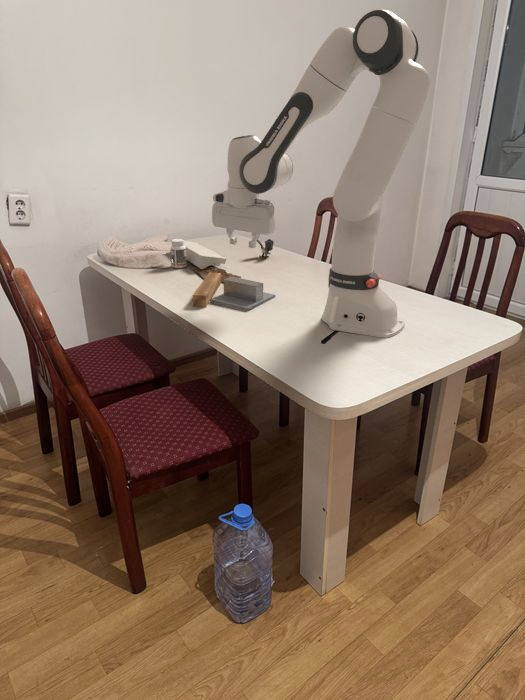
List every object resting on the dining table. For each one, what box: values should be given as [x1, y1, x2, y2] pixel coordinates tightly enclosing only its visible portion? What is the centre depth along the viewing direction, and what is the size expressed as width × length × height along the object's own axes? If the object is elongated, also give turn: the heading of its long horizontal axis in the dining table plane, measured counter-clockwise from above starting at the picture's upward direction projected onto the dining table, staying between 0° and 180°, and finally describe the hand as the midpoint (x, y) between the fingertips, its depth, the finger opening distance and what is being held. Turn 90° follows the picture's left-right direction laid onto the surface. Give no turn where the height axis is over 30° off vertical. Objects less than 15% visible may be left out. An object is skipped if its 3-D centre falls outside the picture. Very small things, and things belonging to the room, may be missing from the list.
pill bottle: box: [170, 238, 188, 269], centre depth 189 cm, size 6×6×10 cm
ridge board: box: [209, 276, 276, 312], centre depth 156 cm, size 14×15×6 cm
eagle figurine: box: [255, 238, 275, 260], centre depth 201 cm, size 8×7×9 cm
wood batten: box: [192, 272, 222, 308], centre depth 161 cm, size 4×24×4 cm, turn 173°
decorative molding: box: [184, 240, 227, 269], centre depth 199 cm, size 34×5×10 cm
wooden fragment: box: [191, 266, 242, 283], centre depth 180 cm, size 26×11×1 cm, turn 38°
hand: (242, 245), depth 150 cm, fingers open, 5 cm apart
